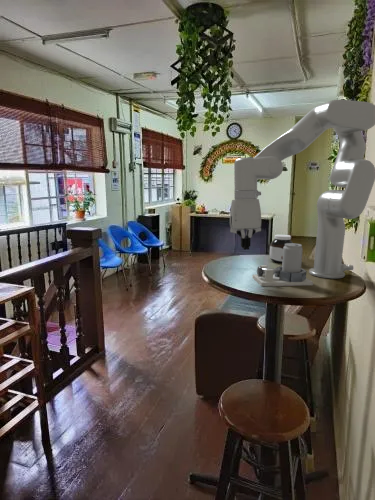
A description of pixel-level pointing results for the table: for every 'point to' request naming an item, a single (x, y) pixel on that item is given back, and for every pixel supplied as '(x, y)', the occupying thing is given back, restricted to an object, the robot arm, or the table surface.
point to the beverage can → (292, 258)
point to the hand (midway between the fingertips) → (245, 248)
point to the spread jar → (278, 247)
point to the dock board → (276, 279)
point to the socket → (292, 276)
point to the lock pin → (262, 271)
